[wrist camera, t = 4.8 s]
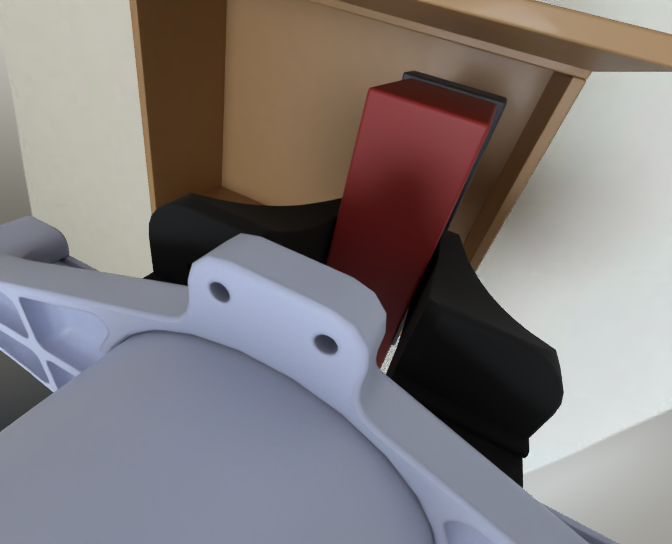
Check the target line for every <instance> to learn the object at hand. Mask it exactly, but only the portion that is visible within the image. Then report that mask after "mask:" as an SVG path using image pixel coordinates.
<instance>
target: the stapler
mask: <svg viewBox="0 0 672 544" xmlns="http://www.w3.org/2000/svg"><path fill="white" fill-rule="evenodd" d="M506 104H507V98H506V97H503V96H499V95H496V94H493V93H489V92H486V91H482V90H479V89H476V88H472V87H469V86H466V85H462V84H459V83H455V82H452V81H449V80H445V79H442V78H438V77H435V76H432V75H428V74H425V73H421V72H418V71H409V72H404V74H403V76H402V80H400V81H396V82H392V83H387V84H383V85H379V86H375V87H370V88H369V90H368V93H367V97H366V101H365V105H364V109H363V114H362V118H361V122H360V126H359V130H358V134H357V138H356V142H355V147H354V151H353V155H352V159H351V163H350V167H349V171H348V176H347V180H346V184H345V188H344V192H343V196H342V200H341V205H340V209H339V213H338V217H337V221H336V225H335V229H334V234H333V238H332V242H331V246H330V250H329V254H328V258H327V263H326V266H329V267H331V268H333V269H335V270H338V271H340V272H342V273H344V274H347V275H349V276H351V277H353V278H355V279H356V280H358V281H359V282H361V283H362V284H363V285H365V286H366V287H367V288H369V289H370V290H372V291H373V292H374V293H375V294H376V296H377V298H378V299H379V301H380V303H381V305H382V307H383V308H384V310H385V312H386V331H385V335H384V337H383V340H382V342H381V344H380V347H379V349H378V352H377V357H376V363H377V366H378V367H379V369H380V368H381V366H382V364H383V362H384V360H385V357H386V355H387V353H388V351H389V349H390V347H391V345H395V343H396V341H397V339H398V337H399V335H400V332H401V330H402V328H403V326H404V322H405V319H406V315H407V312H408V308H409V305H410V303H411V301H412V298H413V296H414V294H415V292H416V290H417V287H418V285H419V283H420V281H421V279H422V276H423V274H424V272H425V270H426V268H427V265H428V263H429V261H430V259H431V257H432V255H433V252H434V250H435V248H436V246H437V244H438V241H439V239H440V237H441V235H442V233H443V230H444V229H446V230H448V229H449V227H450V225H451V223H452V221H453V219H454V216H455V214H456V212H457V210H458V208H459V206H460V204H461V201H462V199H463V197H464V195H465V193H466V191H467V189H468V186H469V184H470V182H471V180H472V178H473V176H474V174H475V171H476V169H477V167H478V165H479V163H480V161H481V158H482V156H483V154H484V152H485V150H486V148H487V146H488V143H489V141H490V139H491V137H492V135H493V133H494V131H495V128H496V126H497V124H498V122H499V120H500V118H501V115H502V113H503V111H504V109H505V107H506Z"/></svg>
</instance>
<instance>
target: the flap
mask: <svg viewBox="0 0 672 544" xmlns="http://www.w3.org/2000/svg"><path fill="white" fill-rule="evenodd" d="M337 1H341V2H345V3H348V4H352V5H355V6H359V7H363V8H366V9H370V10H373V11H377V12H381V13H384V14H388V15H391V16H395V17H399V18H402V19H406V20H409V21H413V22H417V23H420V24H424V25H427V26H431V27H434V28H438V29H442V30H445V31H449V32H452V33H456V34H460V35H463V36H467V37H470V38H474V39H478V40H481V41H485V42H488V43H492V44H496V45H499V46H503V47H506V48H510V49H514V50H517V51H521V52H524V53H528V54H531V55H535V56H539V57H542V58H546V59H549V60H553V61H557V62H560V63H564V64H567V65H571V66H575V67H578V68H582V69H585V70H589V71H593V72H672V34H668V33H664V32H660V31H656V30H652V29H648V28H644V27H640V26H636V25H632V24H628V23H624V22H619V21H615V20H611V19H607V18H603V17H599V16H595V15H591V14H587V13H583V12H579V11H575V10H571V9H567V8H563V7H559V6H555V5H551V4H547V3H543V2H539V1H535V0H337Z"/></svg>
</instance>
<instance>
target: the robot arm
mask: <svg viewBox="0 0 672 544" xmlns="http://www.w3.org/2000/svg"><path fill="white" fill-rule="evenodd" d="M341 200H342V198H339V199H334V200H329V201H324V202H317V203H311V204H304V205H292V206H268V205H252V204H243V203H236V202H230V201H225V200H220V199H215V198H211V197H207V196H202V195H198V194H194V193H189V194H187V195H185V196H183V197H180V198H178V199H176V200H174V201H171V202H169V203H167V204H165V205H163V206H160V207H158V208H157V209H156V210H155V211H154V213H153V214H152V216H151V219H150V222H149V240H150V248H151V256H152V264H153V271H154V272H153V273H151V274H149V275H148V276H146V277H144V278H143V279H142V278H136V277H130V276H123V275H117V274H111V273H105V272H100V271H98V270H96V269H94V268H92V267H90V266H88V265H87V264H85V263H83V262H81V261H79V260H77V259H75V258H73V257H71V256H69V248H68V244H67V241H66V239H65V237H64V236H63V234H62V233H61V232H60V231H59V230H57V229H56V228H54V227H52V226H50V225H48V224H46V223H44V222H42V221H40V220H38V219H36V218H34V217H32V216H26V217H23V218H20V219H17V220H14V221H11V222H8V223H5V224H2V225H0V350H1V351H3V352H4V353H5V354H7V355H8V356H9V357H11V358H12V359H13V360H14V361H16V362H17V363H18V364H19V365H21V366H22V367H23V368H25V369H26V370H27V371H28V372H30V373H31V374H32V375H33V376H35V377H36V378H37V379H38V380H39V381H40V382H42V383H43V384H44V385H45V386H47V387H48V388H49V389H50V390H51V391H53V392H54V393H53V394H51V395H50V396H49V397H47V398H46V399H45V400H43V401H42V402H40V403H39V404H38V405H37V406H35V407H34V408H32V409H31V410H30V411H28V412H27V413H26V414H24V415H23V416H21V417H20V418H19V419H17V420H16V421H15V422H13V423H12V424H11V425H9V426H8V427H6V428H5V429H4V430H2V431H1V432H0V544H618V543H616V542H615V541H613V540H611V539H609V538H607V537H605V536H603V535H601V534H599V533H597V532H596V531H594V530H592V529H590V528H588V527H586V526H584V525H582V524H580V523H578V522H576V521H575V520H573V519H571V518H569V517H567V516H565V515H563V514H561V513H559V512H557V511H556V510H554V509H552V508H550V507H548V506H546V505H544V504H542V503H540V502H538V501H537V500H536V499H535V498H534V497H532V496H531V495H530V494H529V493H528V492H526V491H525V490H524V489H523V462H522V457H523V458H525V457H527V456H528V453H529V438H530V437H531V436H532V435H533V434H534V433H535V432H536V431H537V430H538V429H539V428H540V427H541V426H542V425H543V424H544V423H545V422H546V421H548V420H549V419H550V418H551V417H552V416H553V415H554V414H555V412H556V411H557V409H558V408H559V407H560V405H561V403H562V398H563V393H564V391H563V384H562V376H561V369H560V364H559V360H558V356H557V352H556V350H555V349H554V348H552V347H551V346H549V345H548V344H546V343H545V342H544V341H542V340H541V339H539V338H538V337H536V336H535V335H533V334H532V333H531V332H529V331H528V330H527V329H525V328H524V327H523V326H522V325H521V324H519V323H518V322H517V321H516V320H515V319H513V318H512V317H511V316H510V315H509V314H508V313H507V312H506V311H505V310H504V309H503V308H502V307H501V306H500V305H499V304H498V303H497V302H496V301H495V300H494V299H493V297H492V296H491V295H490V294H489V293H488V291H487V290H486V289H485V287H484V286H483V284H482V283H481V282H480V280H479V279H478V277H477V275H476V273H475V272H474V270H473V268H472V266H471V264H470V262H469V260H468V258H467V255H466V253H465V250H464V247H463V244H462V241H461V238H460V235H459V234H456V233H454V232H451V231H449V230H446V229H444V230H443V233H442V235H441V237H440V239H439V241H438V244H437V246H436V248H435V250H434V252H433V255H432V257H431V259H430V261H429V263H428V265H427V268H426V270H425V272H424V274H423V276H422V279H421V281H420V283H419V285H418V287H417V290H416V292H415V294H414V296H413V298H412V301H411V303H410V305H409V308H408V312H407V315H406V319H405V322H404V326H403V330H402V333H401V337H400V340H399V343H398V346H397V349H396V351H395V353H394V356H393V358H392V361H391V363H390V366H389V368H388V370H387V373H386V375H385V374H384V373H383V372H382V371H381V370H380V369H379V367H378V366H377V363H376V357H377V352H378V349H379V347H380V344H381V342H382V340H383V337H384V335H385V331H386V312H385V310H384V308H383V307H382V305H381V303H380V301H379V299H378V298H377V296H376V294H375V293H374V292H373V291H372V290H370V289H369V288H367V287H366V286H365V285H363V284H362V283H361V282H359V281H358V280H356V279H355V278H353V277H351V276H349V275H347V274H344V273H342V272H340V271H338V270H335V269H333V268H331V267H329V266H326V263H327V258H328V254H329V250H330V246H331V242H332V238H333V234H334V229H335V225H336V221H337V217H338V213H339V209H340V205H341Z"/></svg>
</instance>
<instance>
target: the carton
mask: <svg viewBox="0 0 672 544" xmlns="http://www.w3.org/2000/svg"><path fill="white" fill-rule="evenodd" d="M130 10H131V19H132V29H133V39H134V48H135V58H136V68H137V77H138V87H139V97H140V106H141V116H142V125H143V135H144V145H145V154H146V164H147V174H148V183H149V193H150V203H151V212H152V214H153V213H154V211H155V210H156V209H157V208H158V207H160V206H163V205H165V204H167V203H169V202H171V201H174V200H176V199H178V198H180V197H183V196H185V195H187V194H189V193H194V194H198V195H202V196H207V197H211V198H215V199H220V200H225V201H230V202H236V203H243V204H252V205H268V206H292V205H304V204H311V203H317V202H324V201H329V200H334V199H339V198H342V196H343V192H344V188H345V184H346V180H347V176H348V171H349V167H350V163H351V159H352V155H353V151H354V147H355V142H356V138H357V134H358V130H359V126H360V122H361V118H362V114H363V109H364V105H365V101H366V97H367V93H368V90H369V88H370V87H375V86H379V85H383V84H387V83H392V82H396V81H400V80H402V76H403V74H404V72H409V71H418V72H421V73H425V74H428V75H432V76H435V77H438V78H442V79H445V80H449V81H452V82H455V83H459V84H462V85H466V86H469V87H472V88H476V89H479V90H482V91H486V92H489V93H493V94H496V95H499V96H503V97H506V98H507V104H506V107H505V109H504V111H503V113H502V115H501V118H500V120H499V122H498V124H497V126H496V128H495V131H494V133H493V135H492V137H491V139H490V141H489V143H488V146H487V148H486V150H485V152H484V154H483V156H482V158H481V161H480V163H479V165H478V167H477V169H476V171H475V174H474V176H473V178H472V180H471V182H470V184H469V186H468V189H467V191H466V193H465V195H464V197H463V199H462V201H461V204H460V206H459V208H458V210H457V212H456V214H455V216H454V219H453V221H452V223H451V225H450V227H449V229H448V230H449V231H451V232H454V233H456V234H459V235H460V238H461V241H462V244H463V247H464V250H465V253H466V255H467V258H468V260H469V262H470V264H471V266H472V268H473V270H474V272H476V270H477V268H478V266H479V265H480V263H481V261H482V260H483V258H484V256H485V254H486V253H487V251H488V249H489V247H490V246H491V244H492V242H493V241H494V239H495V237H496V235H497V234H498V232H499V230H500V229H501V227H502V225H503V223H504V222H505V220H506V218H507V217H508V215H509V213H510V211H511V210H512V208H513V206H514V204H515V203H516V201H517V199H518V198H519V196H520V194H521V192H522V191H523V189H524V187H525V186H526V184H527V182H528V180H529V179H530V177H531V175H532V173H533V172H534V170H535V168H536V167H537V165H538V163H539V161H540V160H541V158H542V156H543V155H544V153H545V151H546V149H547V148H548V146H549V144H550V143H551V141H552V139H553V137H554V136H555V134H556V132H557V130H558V129H559V127H560V125H561V124H562V122H563V120H564V118H565V117H566V115H567V113H568V112H569V110H570V108H571V106H572V105H573V103H574V101H575V100H576V98H577V96H578V94H579V93H580V91H581V89H582V87H583V86H584V84H585V82H586V79H588V77H589V75H590V74H591V72H592V71H589V70H585V69H582V68H578V67H575V66H571V65H567V64H564V63H560V62H557V61H553V60H549V59H546V58H542V57H539V56H535V55H531V54H528V53H524V52H521V51H517V50H514V49H510V48H506V47H503V46H499V45H496V44H492V43H488V42H485V41H481V40H478V39H474V38H470V37H467V36H463V35H460V34H456V33H452V32H449V31H445V30H442V29H438V28H434V27H431V26H427V25H424V24H420V23H417V22H413V21H409V20H406V19H402V18H399V17H395V16H391V15H388V14H384V13H381V12H377V11H373V10H370V9H366V8H363V7H359V6H355V5H352V4H348V3H345V2H341V1H337V0H130ZM402 330H403V328H402ZM402 330H401V332H400V335H399V336H401V333H402Z"/></svg>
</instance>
